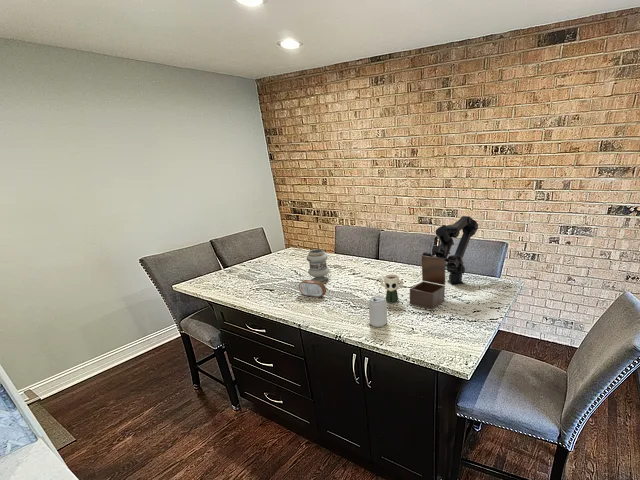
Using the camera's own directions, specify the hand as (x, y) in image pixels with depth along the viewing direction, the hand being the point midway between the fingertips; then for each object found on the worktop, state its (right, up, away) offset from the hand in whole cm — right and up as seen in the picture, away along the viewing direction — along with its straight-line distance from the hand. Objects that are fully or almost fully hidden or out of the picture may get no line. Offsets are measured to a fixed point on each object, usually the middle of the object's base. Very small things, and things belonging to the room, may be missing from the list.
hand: (434, 273), depth 167 cm
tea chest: (-3, -14, 0) cm, 14 cm away
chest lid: (-1, +2, -2) cm, 2 cm away
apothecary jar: (-65, -2, +32) cm, 72 cm away
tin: (-63, -11, +10) cm, 64 cm away
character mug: (-21, -14, +2) cm, 25 cm away
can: (-26, -24, -21) cm, 41 cm away
